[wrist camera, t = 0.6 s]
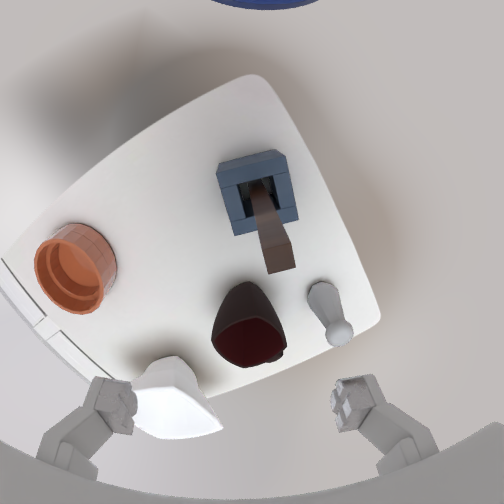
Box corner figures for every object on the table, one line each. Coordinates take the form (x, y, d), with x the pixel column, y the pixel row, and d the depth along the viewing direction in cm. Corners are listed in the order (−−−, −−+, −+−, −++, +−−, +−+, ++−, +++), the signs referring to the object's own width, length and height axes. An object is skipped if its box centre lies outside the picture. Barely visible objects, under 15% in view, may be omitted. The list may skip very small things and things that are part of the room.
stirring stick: (246, 178, 40) (261, 250, 19) (259, 174, 40) (291, 242, 19) (249, 190, 41) (268, 274, 20) (262, 187, 41) (296, 267, 20)
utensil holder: (219, 163, 39) (215, 173, 32) (275, 149, 38) (285, 155, 31) (234, 215, 43) (234, 236, 36) (287, 202, 42) (298, 220, 35)
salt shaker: (300, 285, 49) (319, 334, 38) (330, 272, 48) (356, 318, 37) (310, 308, 52) (328, 357, 40) (338, 295, 51) (362, 342, 39)
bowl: (183, 325, 52) (173, 381, 39) (230, 380, 60) (231, 430, 48) (116, 349, 54) (99, 397, 42) (166, 396, 63) (159, 441, 50)
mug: (253, 262, 46) (259, 306, 36) (294, 313, 52) (307, 360, 41) (206, 291, 48) (201, 339, 38) (251, 337, 54) (255, 384, 43)
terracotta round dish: (42, 235, 41) (22, 252, 35) (97, 211, 40) (77, 227, 34) (74, 297, 48) (60, 319, 41) (130, 284, 47) (118, 307, 41)
